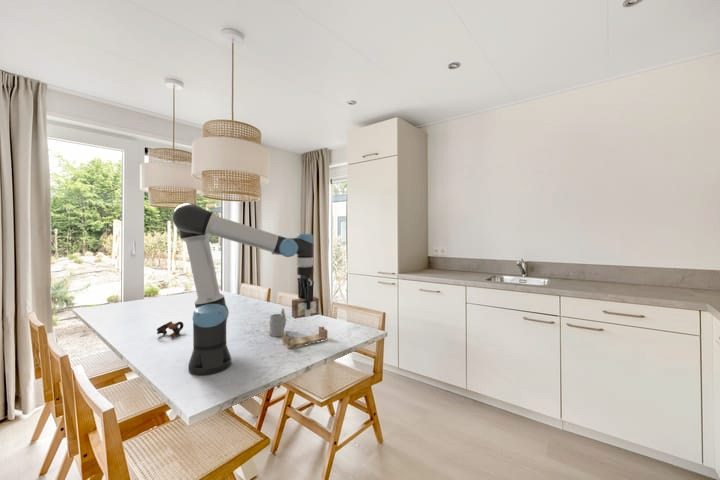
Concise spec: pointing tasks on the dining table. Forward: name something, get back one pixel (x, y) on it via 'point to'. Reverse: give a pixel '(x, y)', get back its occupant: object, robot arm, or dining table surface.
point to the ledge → (304, 339)
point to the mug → (277, 324)
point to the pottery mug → (171, 326)
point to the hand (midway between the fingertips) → (305, 314)
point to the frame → (299, 307)
